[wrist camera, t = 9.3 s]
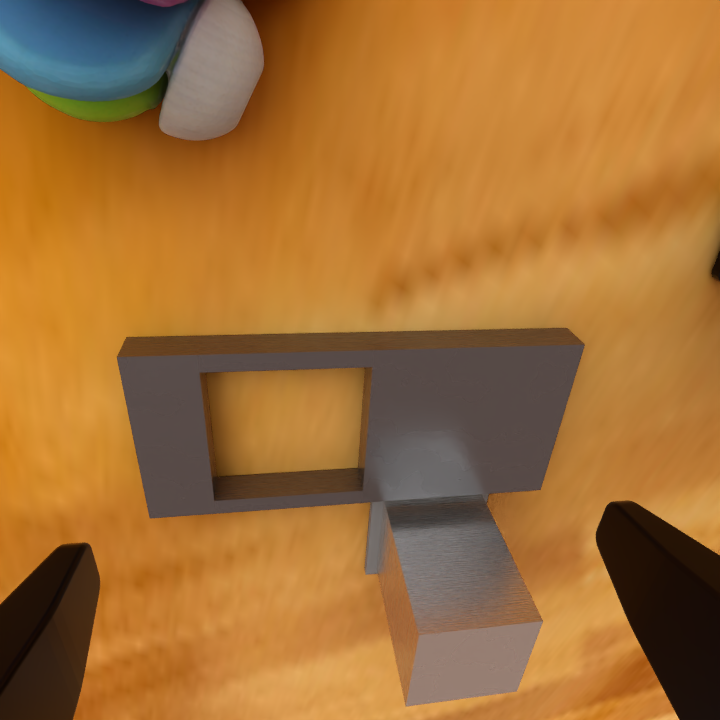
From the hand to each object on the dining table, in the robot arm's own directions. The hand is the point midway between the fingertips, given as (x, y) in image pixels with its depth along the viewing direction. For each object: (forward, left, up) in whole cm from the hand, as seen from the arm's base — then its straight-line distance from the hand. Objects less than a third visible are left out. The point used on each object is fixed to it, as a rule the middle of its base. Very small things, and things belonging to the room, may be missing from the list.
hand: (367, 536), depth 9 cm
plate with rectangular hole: (-2, +7, -12) cm, 14 cm away
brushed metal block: (-6, +14, -12) cm, 19 cm away
